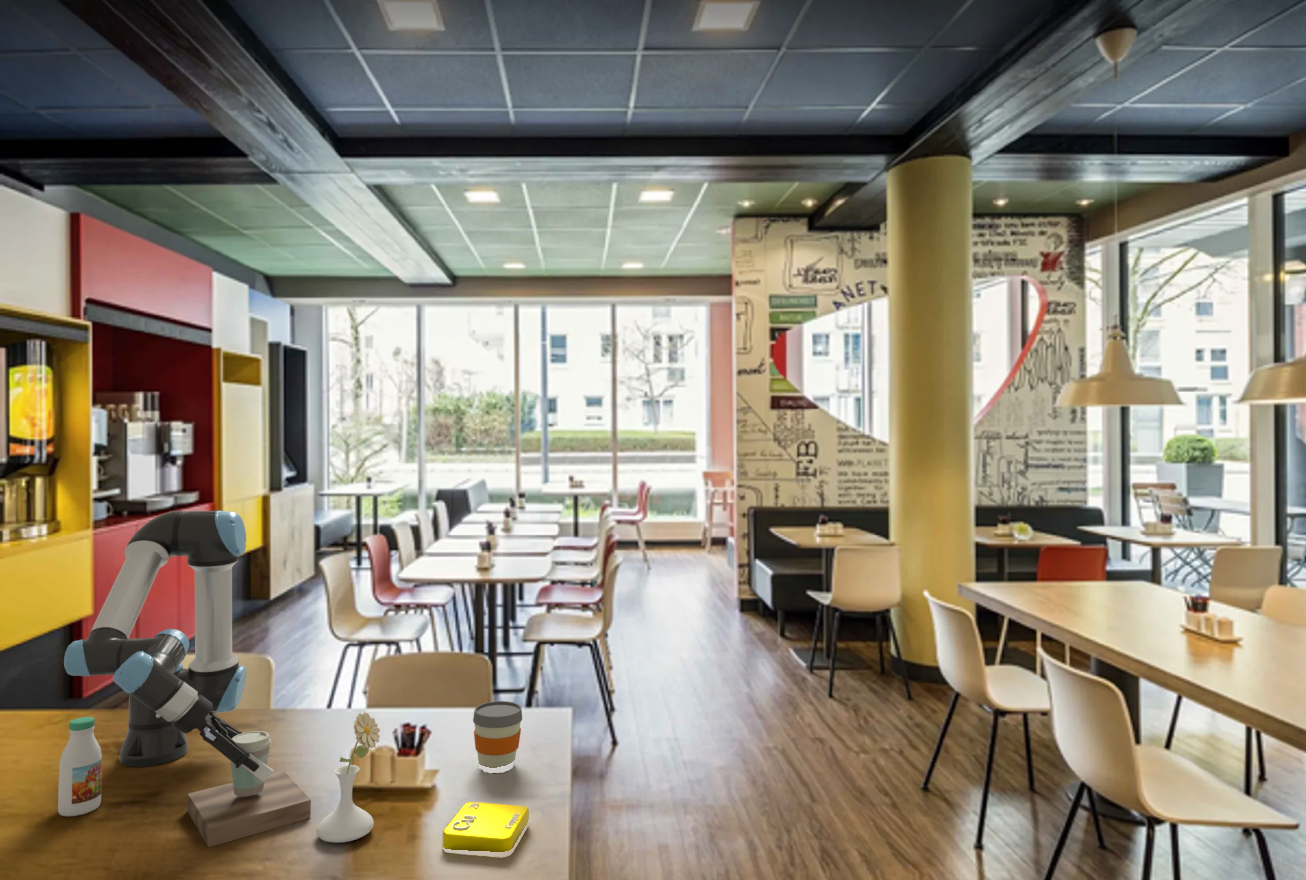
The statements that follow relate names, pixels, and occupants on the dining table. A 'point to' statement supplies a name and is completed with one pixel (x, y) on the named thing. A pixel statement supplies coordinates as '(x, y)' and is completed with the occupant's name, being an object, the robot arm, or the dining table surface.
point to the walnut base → (247, 809)
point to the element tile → (485, 827)
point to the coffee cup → (257, 747)
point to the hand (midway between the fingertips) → (265, 768)
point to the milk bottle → (80, 770)
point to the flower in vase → (347, 816)
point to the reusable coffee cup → (497, 732)
